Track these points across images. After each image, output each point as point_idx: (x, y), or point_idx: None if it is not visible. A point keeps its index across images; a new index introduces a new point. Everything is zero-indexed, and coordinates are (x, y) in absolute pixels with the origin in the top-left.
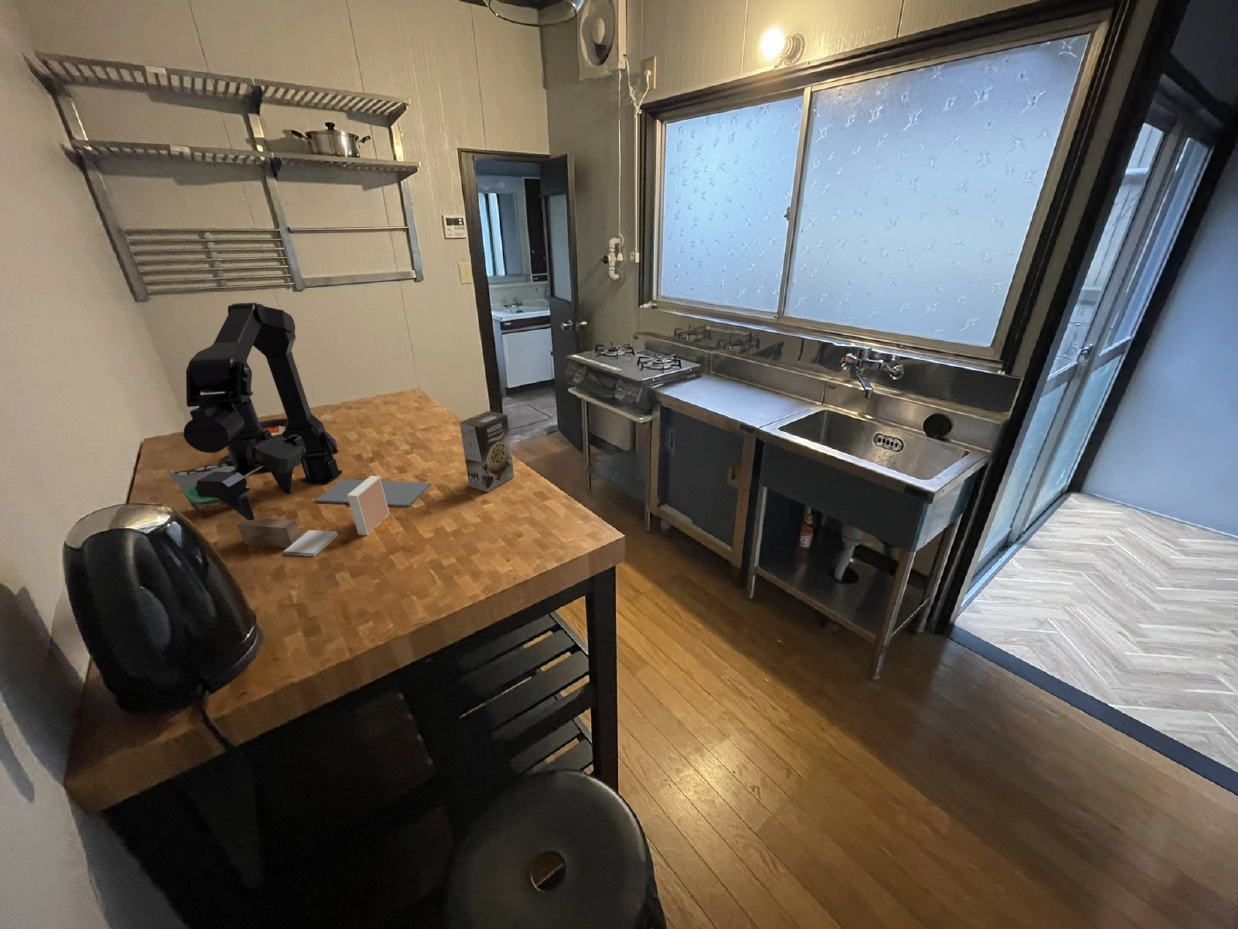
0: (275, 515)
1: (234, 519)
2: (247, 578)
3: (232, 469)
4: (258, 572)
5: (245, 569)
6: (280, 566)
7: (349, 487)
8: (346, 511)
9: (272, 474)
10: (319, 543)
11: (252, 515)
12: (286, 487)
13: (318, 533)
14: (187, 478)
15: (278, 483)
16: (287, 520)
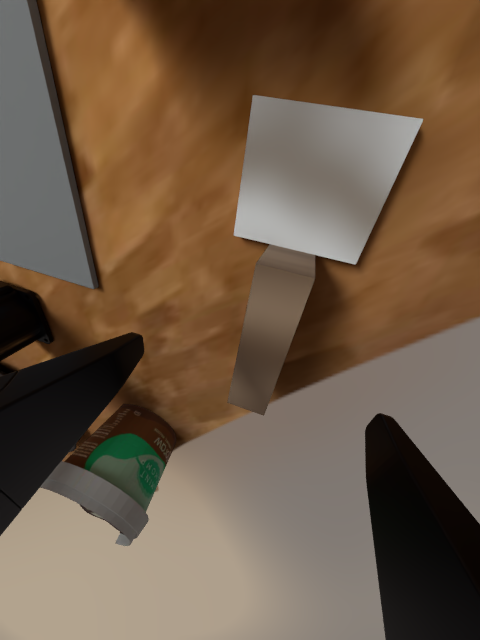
0: (163, 350)
1: (183, 405)
2: (470, 317)
3: (77, 478)
4: (445, 299)
5: (404, 338)
6: (438, 242)
7: (15, 220)
8: (111, 164)
9: (51, 472)
10: (339, 135)
11: (402, 439)
12: (112, 363)
13: (257, 186)
14: (134, 528)
15: (100, 408)
16: (252, 295)
